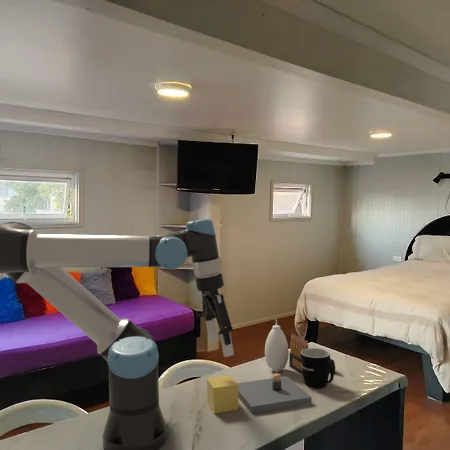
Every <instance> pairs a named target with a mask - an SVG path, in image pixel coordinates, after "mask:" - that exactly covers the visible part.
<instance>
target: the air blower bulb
mask: <svg viewBox="0 0 450 450" xmlns="http://www.w3.org/2000/svg"><path fill="white" fill-rule="evenodd" d="M264 345H265V346H264V357H265V362H266V363H267V366H268V367H269V368H270V369H271V370H272V371H274V372H276V373H277V372H280V371H281V372H282V371H283V369H284V368H286V365H287V364H288V362H289V354H290V352H289V345H288V340H287V337H286V335H285V333H284V332H283V330H282V329H281V325H278V320H277V317H276V318H275V325H272V327H271V330H270V331H269V333H268V335H267V338H266V340H265V344H264Z"/></svg>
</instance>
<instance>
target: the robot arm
mask: <svg viewBox="0 0 450 450" xmlns="http://www.w3.org/2000/svg"><path fill="white" fill-rule="evenodd" d="M219 255H220V254H219V249H218V243H217V235H216V231H215V227H214V223H213V220H211V219H210V218H203V219H202V218H201V219H196V220H192V221H188V222H186V224H185V229H183V230H180V231H179V230H178V231H174V232H167V233H161V234H154V235H152V236H151V235H105V234H101V235H99V234H98V235H97V234H94V235H93V234H50V233H49V234H47V233H45V234H44V233H41V234H40V233H38V232H37V231H36V230H35V229H34V227H32V226H30V225H29V224H26V223H22V222H19V221H8V222H7V221H6V222H5V223H0V274H1V275H2V274H6V275H7V276H8V277H9V278H10V279H12V280H13V281H14V282H15V283H16V284H27V285H28V286H29V287H31V288H32V289H33V290H34V291H35V292H36V293H37V294H39V295H40V296H41V297H42V298H43V299H44V300H46V301H47V302H48V303H49V304H50V305H51V306H53V307H54V308H55V309H56V310H57V311H58V312H59V313H61V314H62V315H63V316H64V317H65V318H66V319H68V321H70V322H71V323H72V324H73V325H75V327H77V328H78V329H79V330H80V331H81V332H82V333H83V334H85V335H86V336H87V337H88V338H89V339H90V340H92V342H93V343H95V344H96V346H97V347H96V348H97V354H98V355H99V356H100V357H101V358H103V359H104V360H105V361H106V362H107V365H108V390H109V392H108V395H109V412H108V415H107V418H106V422H105V425H104V429H103V433H102V446H103V449H104V450H158V449H159V448H161V447H163V445H164V444H165V443H166V441H167V439H168V427H167V424H166V420H165V418H164V415H163V412H162V410H161V407H160V394H159V393H160V391H159V390H160V389H159V385H160V384H159V382H160V381H159V359H160V356H159V351H158V346H157V344H156V342H155V339H154V338H153V336H152V335H151V333H149V332H148V330H146V329H144V328H142V327H140V326H138V325H136V324H135V323H134V322H133V321H131V320H130V318H119V317H118V316H117V315H116V314H115V313H114V312H113V311H112V310H110V309H109V307H107V306H106V305H105V304H104V303H102V301H100V300H99V299H98V298H97V297H96V296H95V295H94V294H92V292H91V291H89V290H88V289H87V288H86V287H85V286H84V285H83V284H81V283H80V282H79V281H78V280H77V279H76V278H75V277H73V275H72V274H70V273H69V272H68V271H67V270H66V269H65V268H164V269H166V270H176V269H178V268H181V267H182V266H183V265H184V264H185V263H186V260H187V258H190V257H191V262H192V267H193V274H194V276H195V277H196V278H195V284H196V289H197V291H199V292H201V302H202V303H201V305H202V306H201V308H202V317H203V318H204V320H205V323H206V324H205V325H206V329H207V335H208V341H209V343H210V344H212V343H216V342H219V341H220V344H221V347H222V355H223V357H224V358H226V357H227V358H228V357H231V356H235V353H234V347H233V341H232V339H233V338H232V335H231V332H232V331H233V330H234V329H233V326H232V323H231V319H230V317H229V314H228V310H227V307H226V303H225V299H224V298H225V297H224V294H220V293H219V289H222V288H223V287H224V285H225V284H224V277H223V274H222V273H221V271H222V267H221V264H222V260H221V259H220V256H219ZM217 325H218V328H219V331H218V329H217ZM219 336H220V337H219Z"/></svg>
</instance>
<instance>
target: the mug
mask: <svg viewBox="0 0 450 450" xmlns="http://www.w3.org/2000/svg"><path fill="white" fill-rule="evenodd" d="M330 359H331V353H330V351H329V350H327V349H323V348H319V347H308V349H304V350H302V351H301V367H302V375H301V376H302V380H303V382H304V385H305V386H306V387H308V388H310V389H316V390H317V389H323V388H325V387H326V386H327V385H328V384H330V383H332V382H333V381H334V378H335V374H334V372H333V369H332V367H331V365H330ZM329 370H330V373H329Z"/></svg>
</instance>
